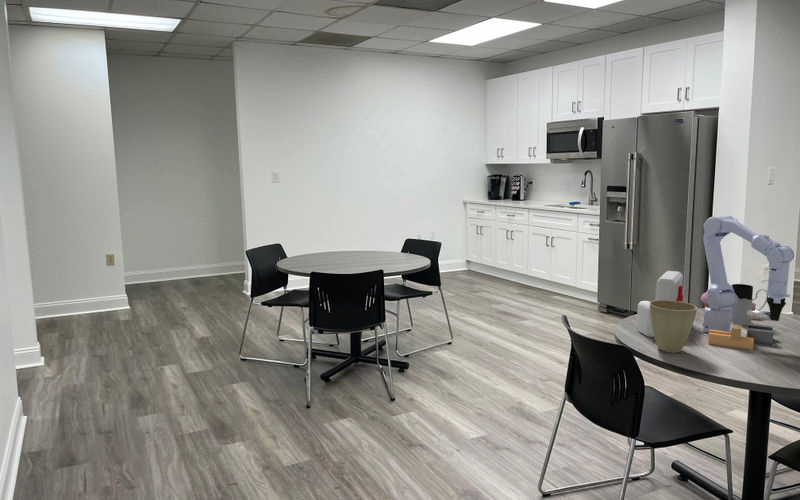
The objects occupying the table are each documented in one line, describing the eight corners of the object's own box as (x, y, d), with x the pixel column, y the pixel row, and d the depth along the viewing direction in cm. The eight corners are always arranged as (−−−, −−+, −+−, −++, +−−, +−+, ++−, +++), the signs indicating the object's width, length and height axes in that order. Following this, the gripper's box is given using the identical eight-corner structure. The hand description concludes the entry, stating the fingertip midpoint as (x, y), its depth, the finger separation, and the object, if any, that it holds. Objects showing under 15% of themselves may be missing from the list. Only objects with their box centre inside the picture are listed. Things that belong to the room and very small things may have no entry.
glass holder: (723, 318, 248) (726, 283, 246) (760, 320, 247) (763, 284, 244) (732, 324, 240) (735, 287, 238) (770, 325, 238) (773, 288, 236)
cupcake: (698, 314, 255) (700, 291, 254) (701, 310, 262) (702, 288, 261) (722, 317, 251) (724, 294, 249) (724, 313, 258) (725, 290, 256)
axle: (746, 319, 213) (746, 311, 213) (746, 317, 216) (746, 309, 215) (779, 322, 208) (779, 313, 208) (779, 320, 211) (779, 311, 210)
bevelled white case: (675, 332, 230) (679, 280, 227) (653, 329, 234) (656, 278, 231) (683, 319, 248) (686, 271, 245) (662, 317, 252) (665, 270, 249)
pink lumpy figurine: (748, 322, 249) (758, 308, 246) (737, 316, 251) (747, 302, 248) (749, 317, 257) (759, 303, 255) (738, 311, 259) (748, 297, 257)
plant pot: (676, 359, 199) (679, 312, 196) (637, 347, 211) (640, 303, 209) (703, 351, 207) (706, 306, 204) (664, 340, 219) (666, 298, 217)
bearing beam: (707, 343, 216) (709, 325, 215) (708, 339, 221) (710, 321, 220) (753, 349, 209) (754, 330, 208) (752, 344, 214) (754, 326, 213)
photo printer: (634, 329, 234) (636, 298, 232) (645, 329, 234) (647, 298, 232) (647, 337, 223) (648, 305, 221) (658, 337, 224) (660, 304, 222)
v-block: (746, 341, 218) (747, 329, 217) (746, 334, 226) (747, 323, 225) (772, 344, 214) (773, 332, 213) (771, 337, 222) (772, 326, 221)
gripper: (792, 286, 200) (788, 325, 202) (790, 278, 212) (786, 315, 214) (768, 284, 204) (764, 322, 206) (767, 276, 216) (763, 313, 218)
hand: (774, 319), depth 210 cm, fingers closed on axle, 3 cm apart
